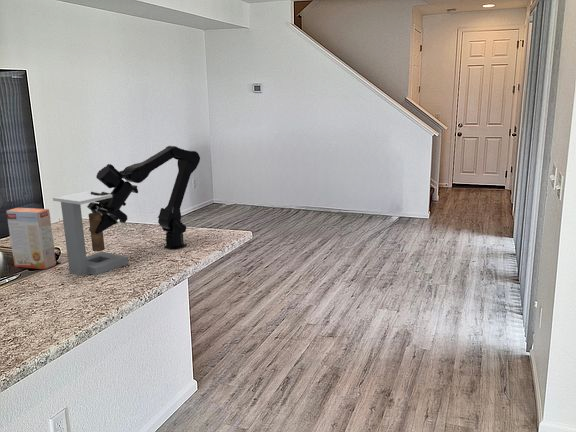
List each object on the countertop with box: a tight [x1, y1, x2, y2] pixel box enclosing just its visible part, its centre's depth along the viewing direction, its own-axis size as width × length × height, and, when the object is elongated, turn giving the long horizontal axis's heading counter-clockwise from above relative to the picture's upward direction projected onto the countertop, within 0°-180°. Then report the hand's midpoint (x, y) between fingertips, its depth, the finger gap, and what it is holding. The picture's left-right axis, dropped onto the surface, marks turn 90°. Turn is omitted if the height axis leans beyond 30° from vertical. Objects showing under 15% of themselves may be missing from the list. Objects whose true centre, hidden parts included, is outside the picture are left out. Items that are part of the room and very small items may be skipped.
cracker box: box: [6, 207, 57, 270], centre depth 186 cm, size 14×6×21 cm, turn 71°
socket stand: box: [52, 191, 129, 277], centre depth 183 cm, size 17×14×26 cm
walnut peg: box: [88, 212, 105, 252], centre depth 183 cm, size 4×4×13 cm
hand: (93, 232), depth 182 cm, fingers closed on walnut peg, 4 cm apart
